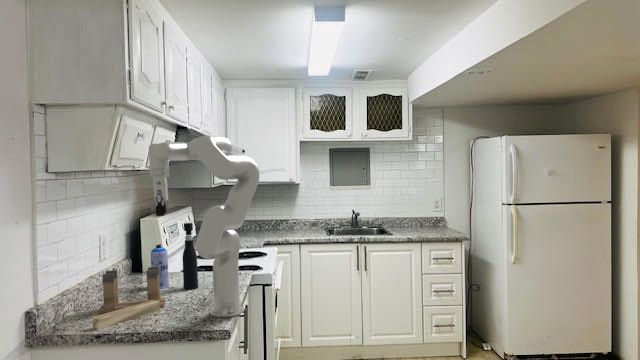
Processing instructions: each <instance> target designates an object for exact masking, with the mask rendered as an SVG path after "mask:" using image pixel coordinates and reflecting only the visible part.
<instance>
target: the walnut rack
mask: <svg viewBox="0 0 640 360" xmlns="http://www.w3.org/2000/svg"><path fill="white" fill-rule="evenodd" d="M101 276H102V293H103V294H102V295H103V304H102V305H101V306H100V307H99V308H98V311H97V312H98V314H97V315H102V314H106V313H109V312H113V311H116V310H120V309H123V308H127V307H130V306H134V305H137V304H141V303H144V302H148V301H151V300H156V301H159V306H160V308H165V305H166V297H161V289H160V285H159V266H158V267H151V266H149V267H147V270H146V290H147V291H146V292H147V299H142V300H132V301H124V302H119V288H118V287H119V286H118V285H119V284H118V270H117V269H114V270H113V269H112V270H106V271H105V273H103V274H102V275H101Z"/></svg>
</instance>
